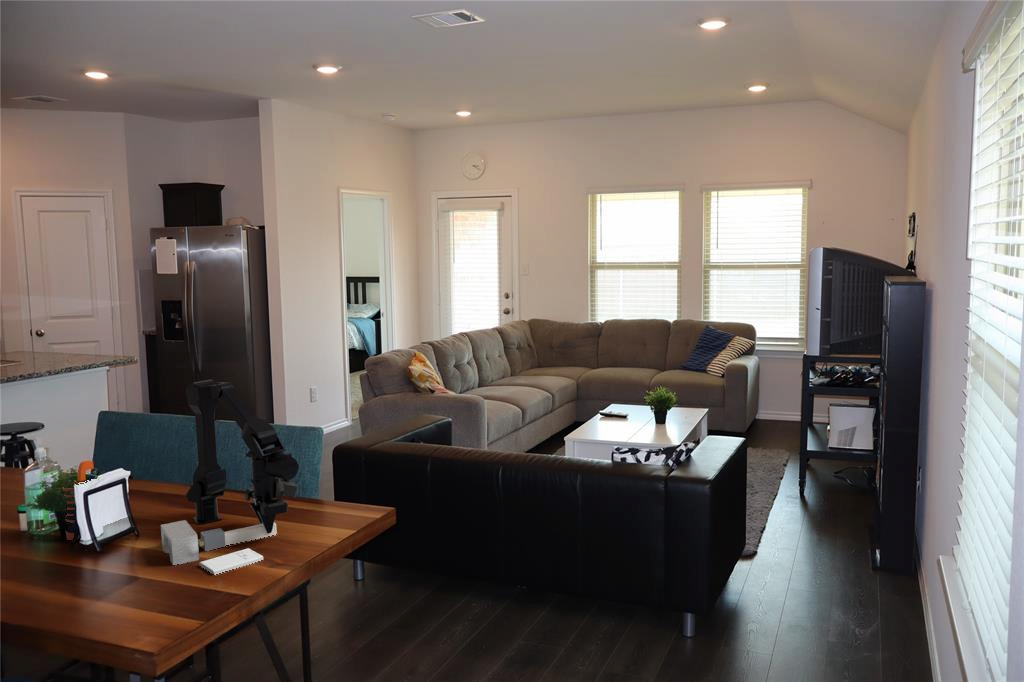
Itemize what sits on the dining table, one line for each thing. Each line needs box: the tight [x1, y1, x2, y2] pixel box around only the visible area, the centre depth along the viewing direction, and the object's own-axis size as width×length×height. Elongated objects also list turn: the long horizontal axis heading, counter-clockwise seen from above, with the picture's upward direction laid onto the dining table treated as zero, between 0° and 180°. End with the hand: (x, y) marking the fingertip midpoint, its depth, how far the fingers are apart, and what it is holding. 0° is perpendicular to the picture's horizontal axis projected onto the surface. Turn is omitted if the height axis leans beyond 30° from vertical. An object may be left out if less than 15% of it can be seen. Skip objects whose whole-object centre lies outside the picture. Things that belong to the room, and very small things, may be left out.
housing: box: [160, 519, 200, 566], centre depth 202 cm, size 13×6×6 cm, turn 34°
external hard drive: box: [199, 547, 264, 576], centre depth 196 cm, size 2×8×12 cm
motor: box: [61, 460, 99, 541], centre depth 217 cm, size 10×9×20 cm
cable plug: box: [198, 521, 278, 552], centre depth 210 cm, size 20×4×4 cm, turn 124°
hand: (267, 531), depth 214 cm, fingers closed on cable plug, 2 cm apart
